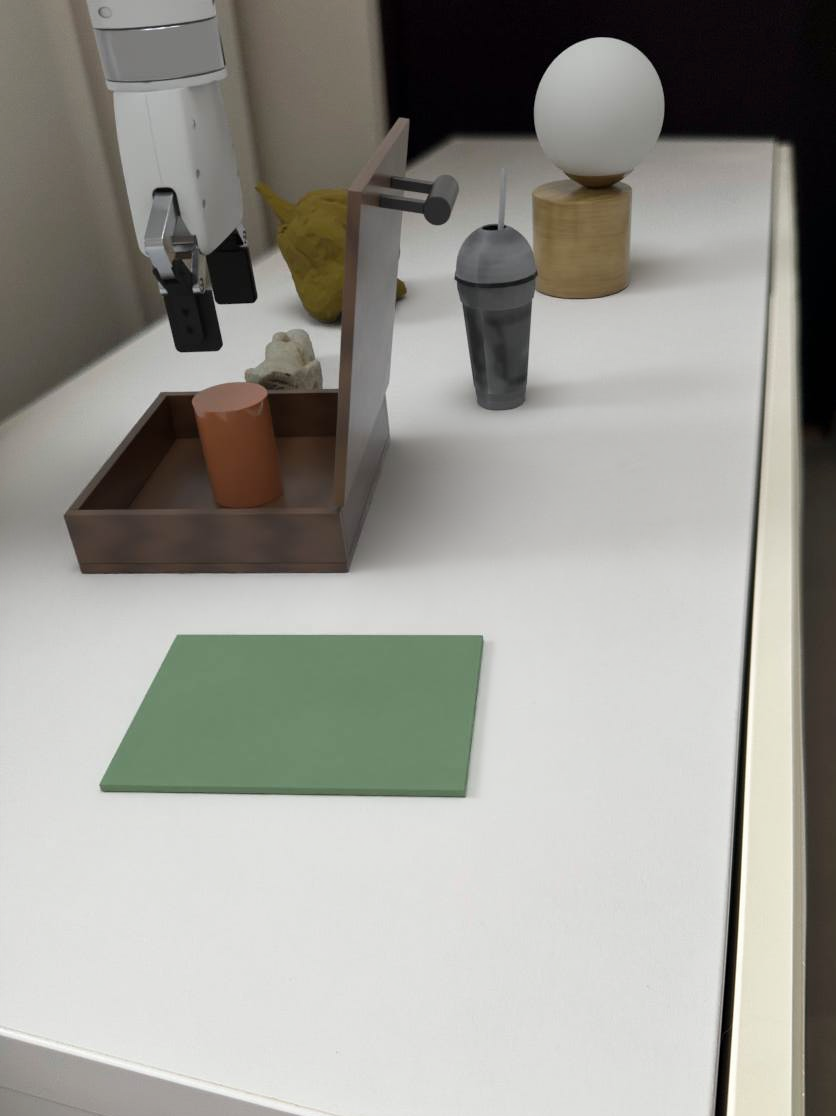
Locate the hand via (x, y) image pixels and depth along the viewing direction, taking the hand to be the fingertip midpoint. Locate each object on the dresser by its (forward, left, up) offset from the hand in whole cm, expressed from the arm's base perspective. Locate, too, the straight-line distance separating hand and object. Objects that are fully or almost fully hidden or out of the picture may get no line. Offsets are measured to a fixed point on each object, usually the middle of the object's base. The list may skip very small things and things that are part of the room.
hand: (219, 325), depth 76 cm
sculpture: (-2, +23, -14) cm, 27 cm away
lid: (+11, 0, +1) cm, 11 cm away
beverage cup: (+19, +19, -14) cm, 30 cm away
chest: (0, 0, -14) cm, 14 cm away
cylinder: (0, 0, -13) cm, 13 cm away
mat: (+10, -26, -14) cm, 31 cm away
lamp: (+28, +54, -14) cm, 62 cm away
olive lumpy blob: (-1, +46, -14) cm, 48 cm away
